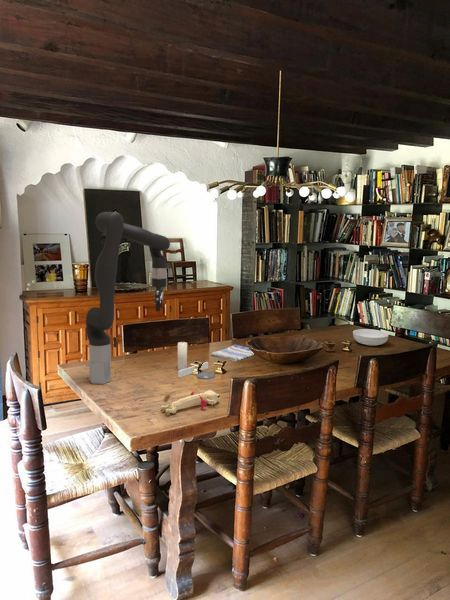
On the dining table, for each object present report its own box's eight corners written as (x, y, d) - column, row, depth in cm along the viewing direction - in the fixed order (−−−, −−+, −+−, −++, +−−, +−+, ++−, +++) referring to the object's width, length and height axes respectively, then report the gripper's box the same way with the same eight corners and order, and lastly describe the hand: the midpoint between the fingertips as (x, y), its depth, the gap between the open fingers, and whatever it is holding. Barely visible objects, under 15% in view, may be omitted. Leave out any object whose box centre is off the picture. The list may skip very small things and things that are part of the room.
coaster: (215, 379, 225) (215, 378, 225) (195, 379, 225) (195, 377, 225) (215, 373, 234) (215, 372, 234) (196, 372, 234) (196, 371, 234)
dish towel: (210, 356, 263) (210, 351, 263) (236, 348, 282) (236, 343, 281) (235, 363, 253) (235, 357, 252) (261, 353, 271) (261, 348, 271)
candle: (186, 370, 237) (186, 342, 235) (177, 370, 237) (177, 342, 235) (187, 367, 242) (187, 340, 240) (177, 367, 242) (178, 340, 240)
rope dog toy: (171, 422, 182) (225, 403, 195) (169, 400, 180) (225, 383, 194) (158, 413, 190) (212, 395, 203) (157, 392, 188) (211, 376, 202)
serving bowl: (347, 339, 306) (347, 328, 305) (379, 339, 308) (380, 328, 307) (359, 348, 286) (360, 337, 284) (393, 348, 288) (394, 337, 287)
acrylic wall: (208, 367, 242) (208, 362, 242) (179, 377, 227) (179, 371, 226) (207, 367, 243) (207, 361, 242) (178, 377, 227) (178, 370, 227)
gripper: (153, 275, 247) (153, 306, 250) (149, 278, 233) (149, 312, 236) (168, 275, 247) (168, 306, 250) (165, 279, 233) (165, 312, 236)
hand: (159, 309), depth 243 cm, fingers open, 8 cm apart
